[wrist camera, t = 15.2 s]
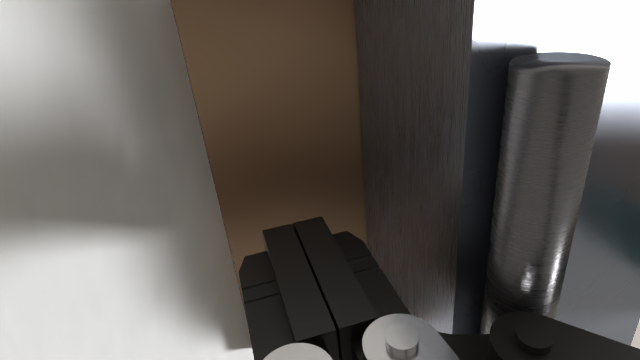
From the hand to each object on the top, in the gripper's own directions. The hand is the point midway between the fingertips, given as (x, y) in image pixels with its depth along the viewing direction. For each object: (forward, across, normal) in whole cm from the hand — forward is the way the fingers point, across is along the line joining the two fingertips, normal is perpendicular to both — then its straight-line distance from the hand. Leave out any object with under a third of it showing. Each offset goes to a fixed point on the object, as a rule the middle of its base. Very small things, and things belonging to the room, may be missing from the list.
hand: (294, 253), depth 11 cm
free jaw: (+2, -5, 0) cm, 6 cm away
